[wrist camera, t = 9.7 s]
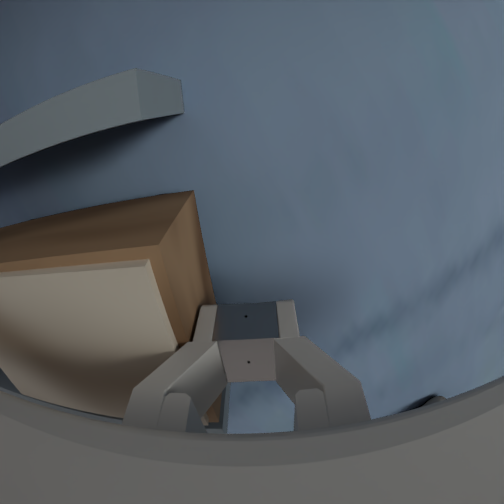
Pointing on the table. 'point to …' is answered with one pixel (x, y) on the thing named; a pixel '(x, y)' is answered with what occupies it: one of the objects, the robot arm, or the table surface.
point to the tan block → (101, 299)
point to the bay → (84, 123)
